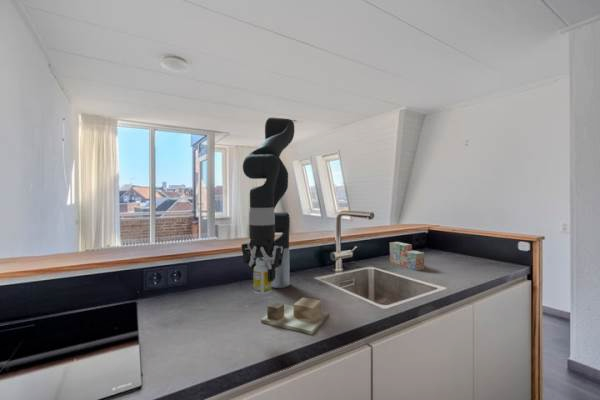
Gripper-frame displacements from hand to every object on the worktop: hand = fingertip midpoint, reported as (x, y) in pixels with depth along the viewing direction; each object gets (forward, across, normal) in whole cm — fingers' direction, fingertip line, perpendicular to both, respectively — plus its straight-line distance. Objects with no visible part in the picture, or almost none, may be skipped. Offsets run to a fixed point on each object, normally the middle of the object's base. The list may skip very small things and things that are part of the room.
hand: (262, 279), depth 82 cm
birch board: (+16, -4, -13) cm, 21 cm away
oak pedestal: (+16, -7, -16) cm, 24 cm away
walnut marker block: (+16, +1, -9) cm, 19 cm away
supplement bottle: (+4, 0, 0) cm, 4 cm away
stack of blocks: (+18, -29, -103) cm, 109 cm away
